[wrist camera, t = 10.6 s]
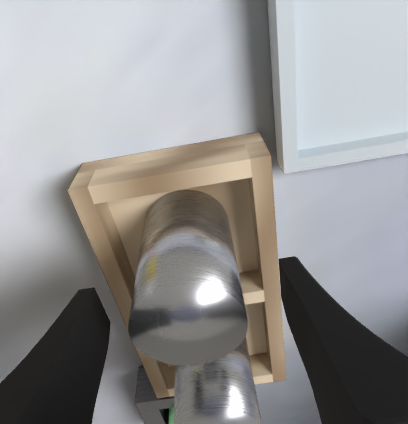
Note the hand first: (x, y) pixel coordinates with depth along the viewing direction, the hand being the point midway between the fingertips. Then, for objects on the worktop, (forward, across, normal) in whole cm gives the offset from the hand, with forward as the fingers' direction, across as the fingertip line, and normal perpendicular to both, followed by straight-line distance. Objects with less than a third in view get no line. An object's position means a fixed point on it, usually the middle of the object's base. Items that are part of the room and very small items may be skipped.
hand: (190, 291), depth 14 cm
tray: (+5, -8, -6) cm, 12 cm away
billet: (+4, 0, 0) cm, 4 cm away
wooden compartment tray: (+5, 0, +4) cm, 6 cm away
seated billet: (+4, 0, +7) cm, 8 cm away
